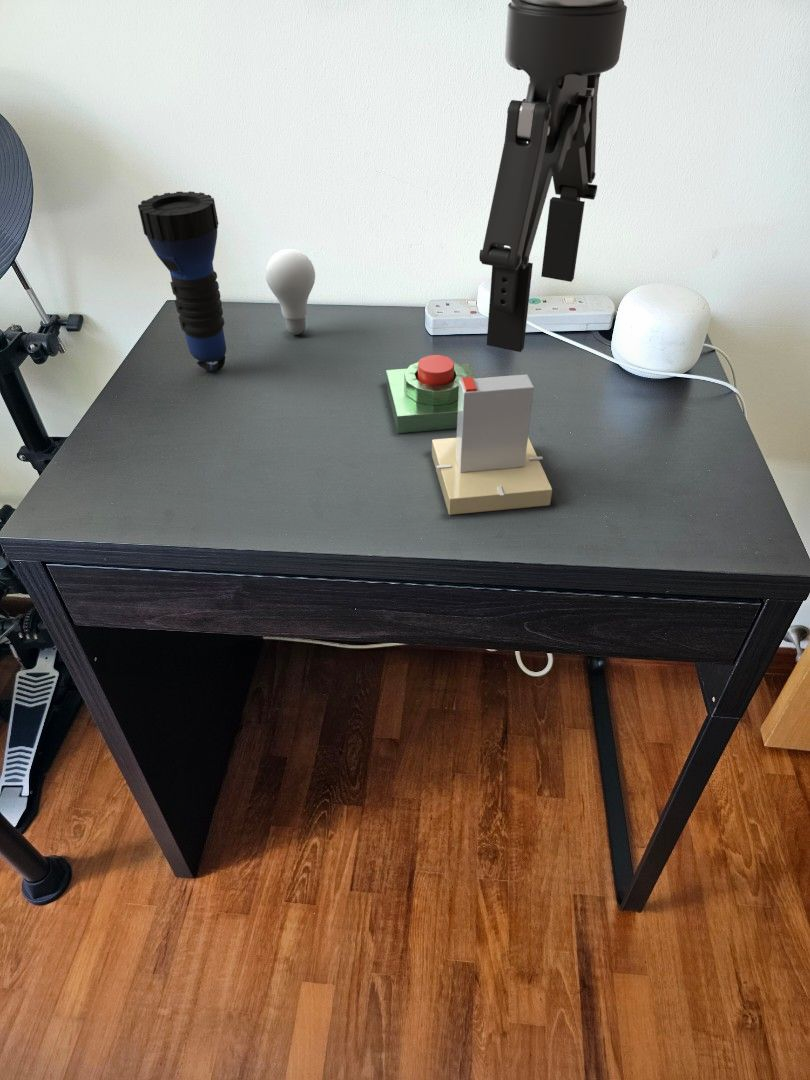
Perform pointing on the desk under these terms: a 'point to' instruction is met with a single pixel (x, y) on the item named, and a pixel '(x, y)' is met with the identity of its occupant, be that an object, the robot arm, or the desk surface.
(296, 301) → the lightbulb
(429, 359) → the stop button
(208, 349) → the flashlight
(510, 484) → the panel
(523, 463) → the tap handle
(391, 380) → the control block
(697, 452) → the desk surface
